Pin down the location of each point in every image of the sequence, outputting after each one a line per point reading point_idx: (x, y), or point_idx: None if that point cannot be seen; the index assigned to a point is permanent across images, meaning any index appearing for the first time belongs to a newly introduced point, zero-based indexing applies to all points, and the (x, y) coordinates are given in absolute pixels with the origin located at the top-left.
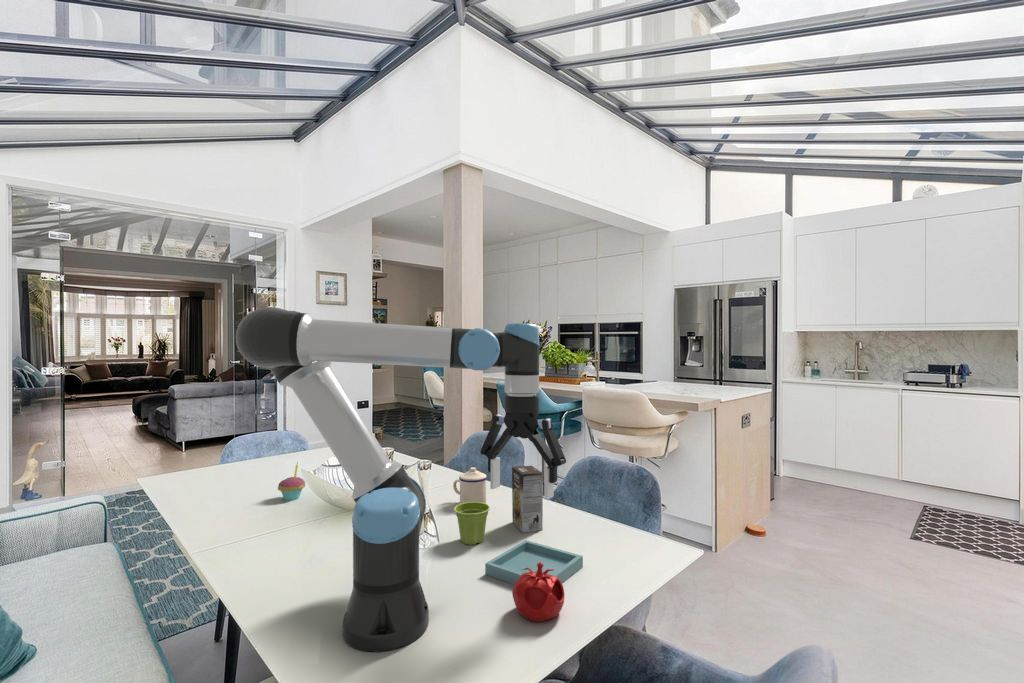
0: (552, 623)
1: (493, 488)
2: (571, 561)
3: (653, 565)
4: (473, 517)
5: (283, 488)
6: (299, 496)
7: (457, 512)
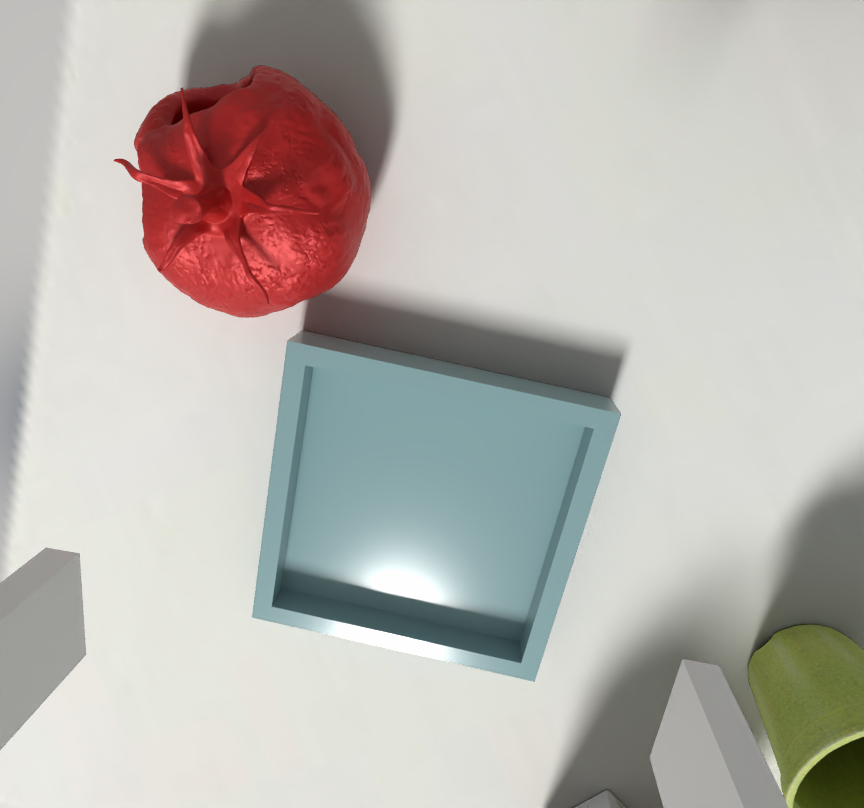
0: None
1: (683, 669)
2: (273, 558)
3: None
4: (845, 719)
5: None
6: None
7: None
